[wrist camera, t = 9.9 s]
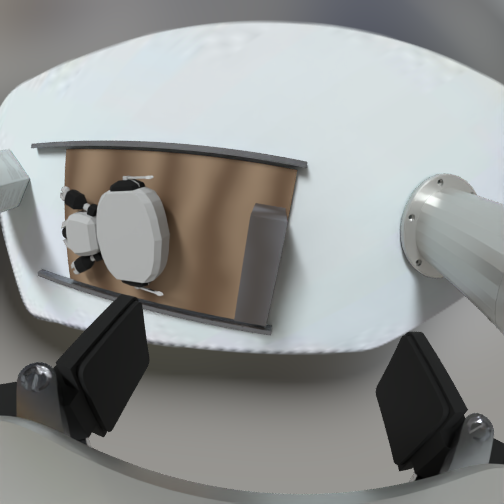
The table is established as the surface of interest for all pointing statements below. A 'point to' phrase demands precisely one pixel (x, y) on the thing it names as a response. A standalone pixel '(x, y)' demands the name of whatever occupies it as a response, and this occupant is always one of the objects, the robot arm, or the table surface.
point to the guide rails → (149, 304)
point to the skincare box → (11, 181)
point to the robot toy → (119, 232)
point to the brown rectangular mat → (198, 227)
